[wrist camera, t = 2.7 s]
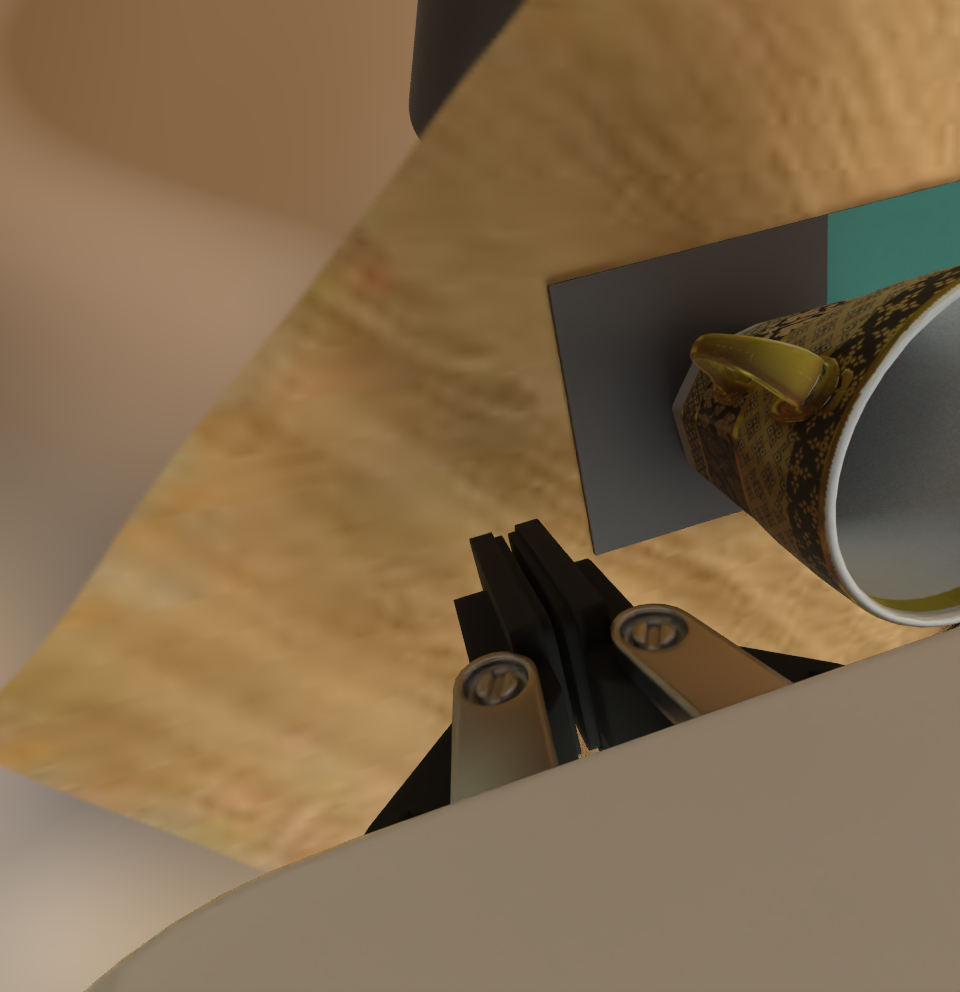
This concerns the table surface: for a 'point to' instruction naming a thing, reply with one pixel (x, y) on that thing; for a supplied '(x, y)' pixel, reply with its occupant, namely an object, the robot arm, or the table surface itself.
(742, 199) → the table surface
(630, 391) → the plate
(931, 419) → the ceramic cup
